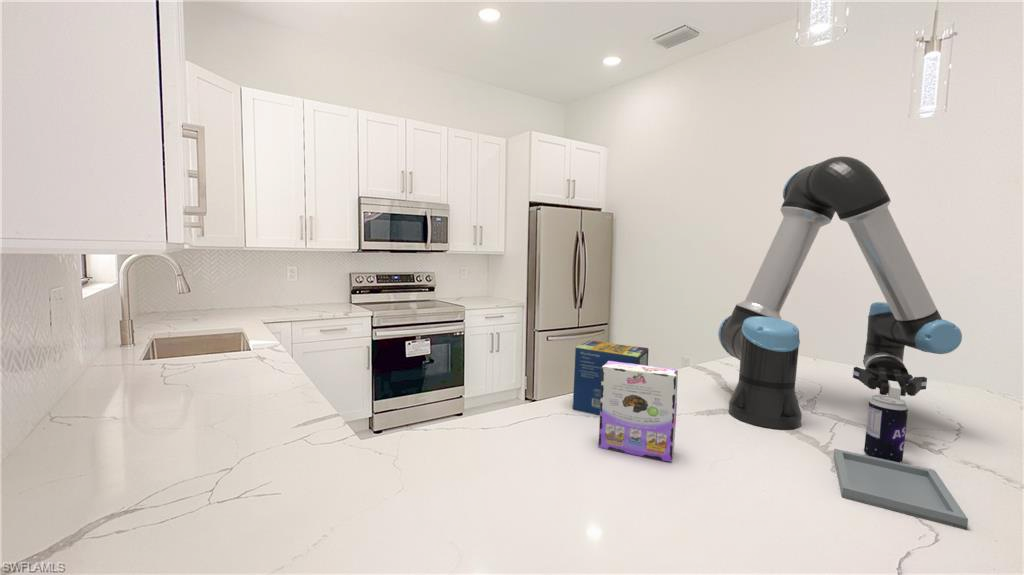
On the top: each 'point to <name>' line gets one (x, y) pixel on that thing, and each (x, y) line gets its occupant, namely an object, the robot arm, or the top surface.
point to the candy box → (638, 409)
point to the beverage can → (886, 428)
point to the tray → (897, 487)
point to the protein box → (599, 370)
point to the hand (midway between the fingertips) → (895, 394)
